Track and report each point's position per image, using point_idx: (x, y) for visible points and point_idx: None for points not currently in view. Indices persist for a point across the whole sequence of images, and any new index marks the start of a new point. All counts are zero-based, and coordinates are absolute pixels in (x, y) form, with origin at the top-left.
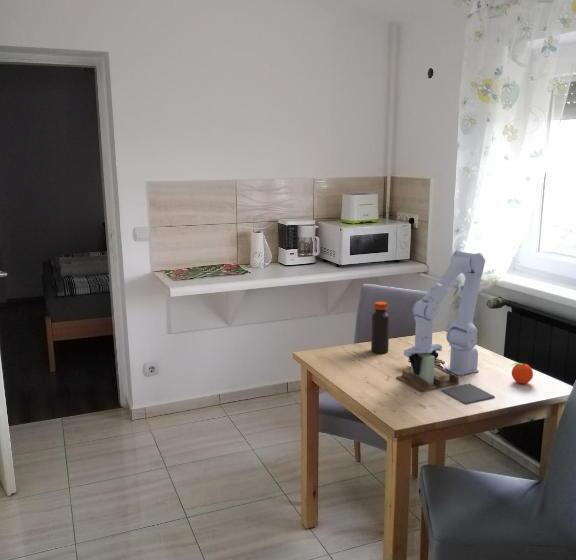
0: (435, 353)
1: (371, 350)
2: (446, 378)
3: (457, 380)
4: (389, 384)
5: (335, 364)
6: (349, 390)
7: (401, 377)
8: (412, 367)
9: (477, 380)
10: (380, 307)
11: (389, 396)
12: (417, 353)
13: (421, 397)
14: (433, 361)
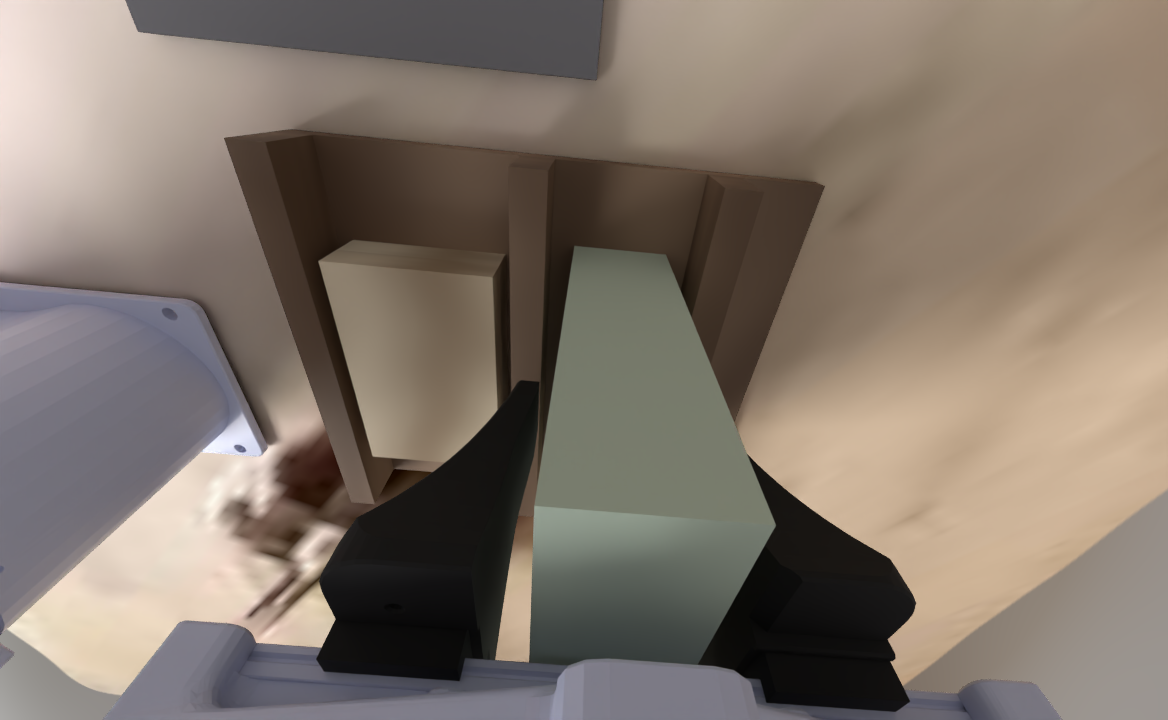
0: (384, 593)
1: None
2: (382, 252)
3: (277, 136)
4: (844, 436)
5: None
6: (1140, 486)
7: None
8: None
9: (6, 95)
10: None
11: (1120, 267)
12: (771, 700)
13: (951, 47)
14: (575, 417)
